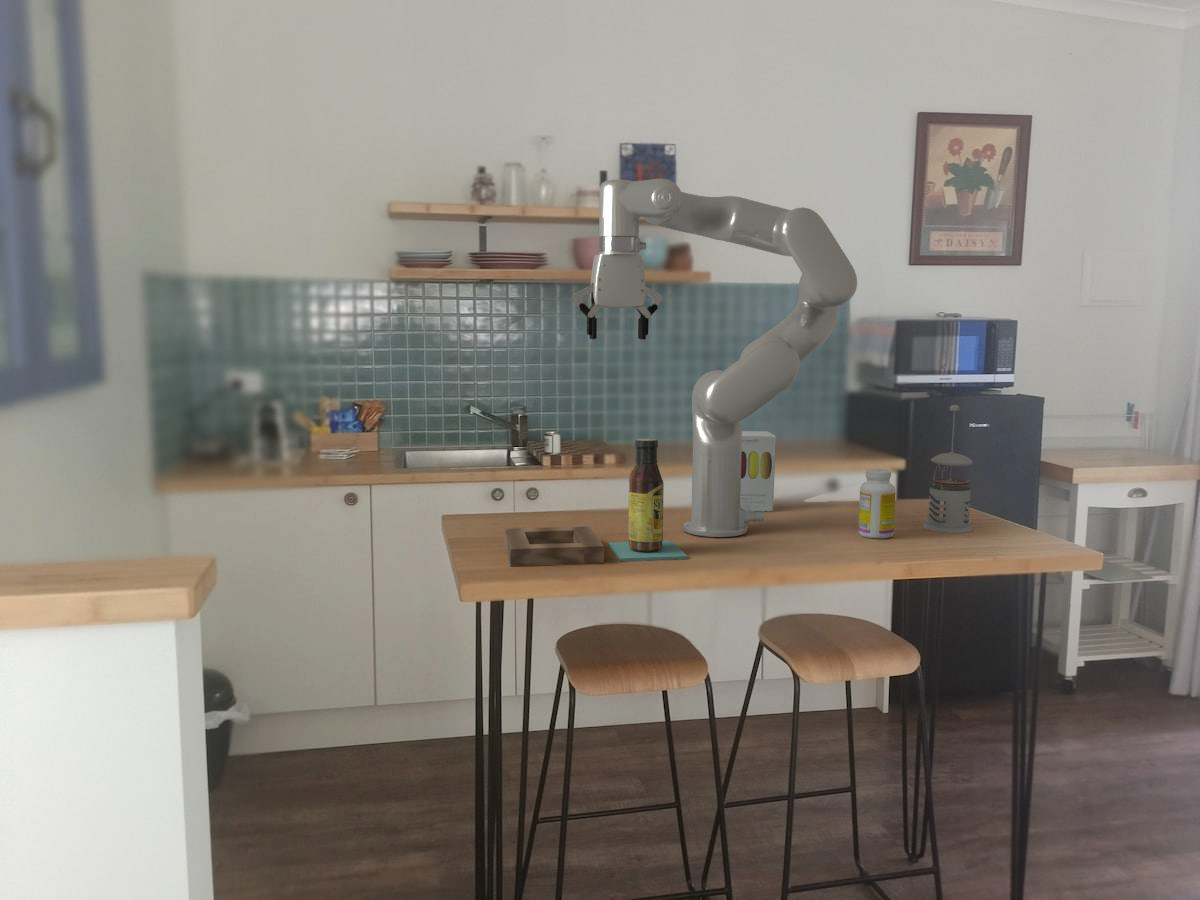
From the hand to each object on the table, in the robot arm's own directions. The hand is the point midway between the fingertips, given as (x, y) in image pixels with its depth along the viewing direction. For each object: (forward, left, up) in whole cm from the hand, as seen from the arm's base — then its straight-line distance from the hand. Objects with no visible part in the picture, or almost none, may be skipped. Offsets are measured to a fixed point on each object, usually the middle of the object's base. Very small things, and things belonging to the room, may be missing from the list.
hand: (617, 339), depth 187 cm
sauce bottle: (-2, +17, -37) cm, 41 cm away
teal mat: (-3, +17, -38) cm, 41 cm away
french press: (-68, +4, -38) cm, 78 cm away
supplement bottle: (-50, +10, -38) cm, 63 cm away
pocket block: (+14, +16, -38) cm, 43 cm away
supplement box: (-34, -20, -38) cm, 54 cm away
